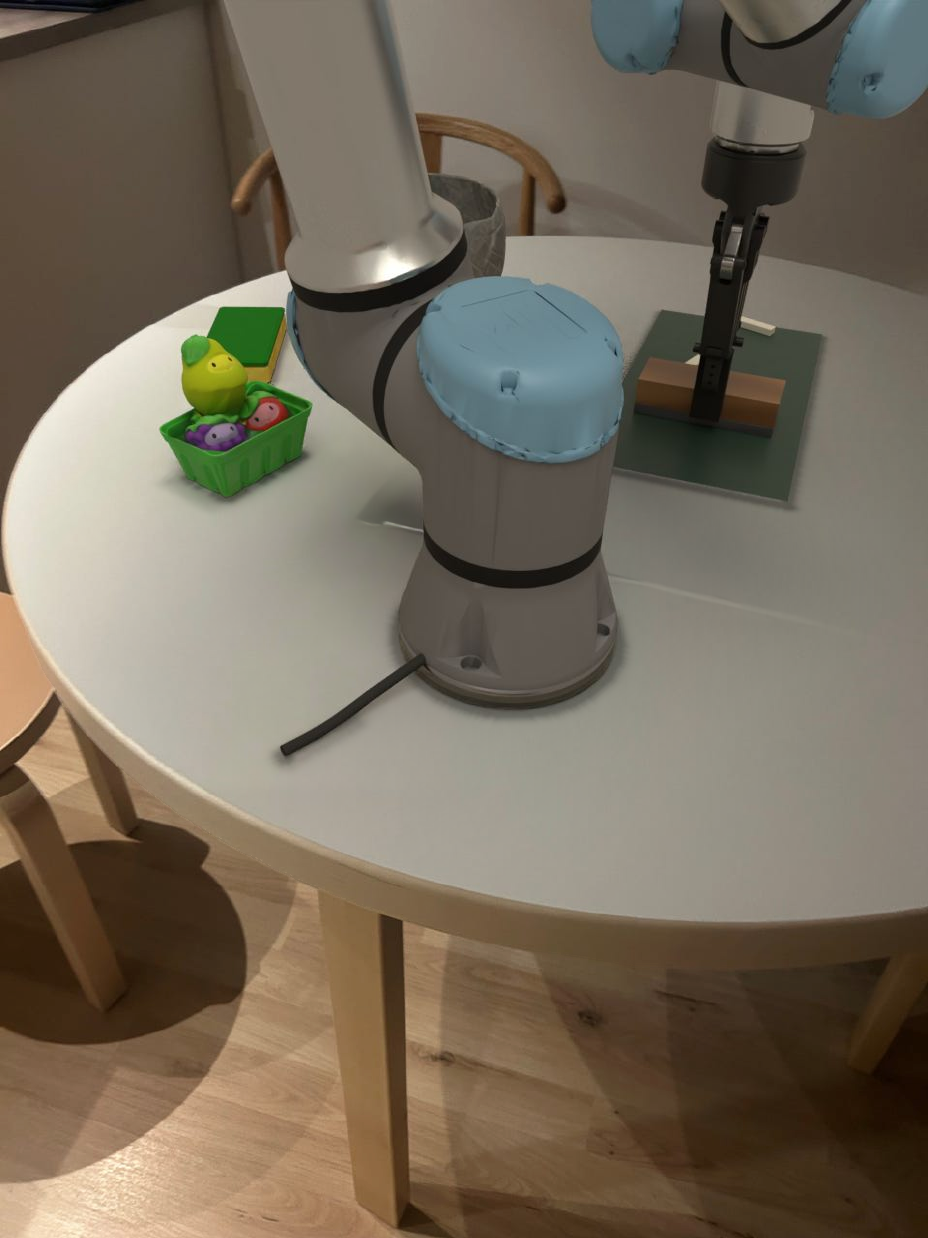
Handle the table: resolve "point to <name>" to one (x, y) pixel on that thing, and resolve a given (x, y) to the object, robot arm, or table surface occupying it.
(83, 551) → the table surface
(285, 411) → the fruit basket
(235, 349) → the dish sponge
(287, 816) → the table surface
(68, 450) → the table surface
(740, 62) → the robot arm
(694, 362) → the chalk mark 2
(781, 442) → the chalkboard
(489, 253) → the bowl
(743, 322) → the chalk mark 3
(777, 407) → the board eraser
